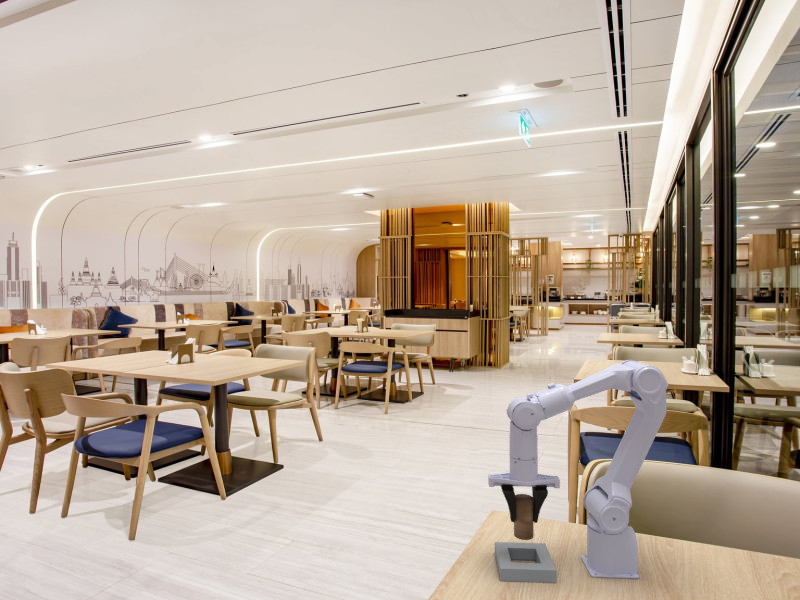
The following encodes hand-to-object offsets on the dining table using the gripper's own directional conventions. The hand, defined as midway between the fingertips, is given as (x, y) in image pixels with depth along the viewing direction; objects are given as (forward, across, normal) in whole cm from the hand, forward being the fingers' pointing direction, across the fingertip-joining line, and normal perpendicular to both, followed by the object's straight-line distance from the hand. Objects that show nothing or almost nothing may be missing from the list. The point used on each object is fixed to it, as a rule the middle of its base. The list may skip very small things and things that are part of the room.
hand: (523, 520), depth 108 cm
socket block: (+10, 0, 0) cm, 10 cm away
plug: (+3, 0, 0) cm, 3 cm away
